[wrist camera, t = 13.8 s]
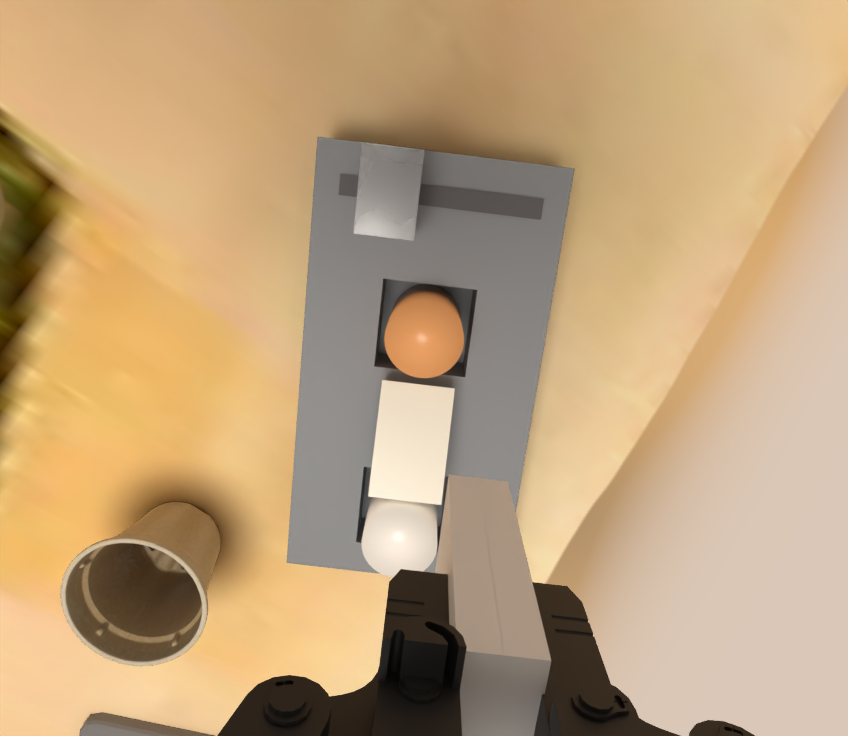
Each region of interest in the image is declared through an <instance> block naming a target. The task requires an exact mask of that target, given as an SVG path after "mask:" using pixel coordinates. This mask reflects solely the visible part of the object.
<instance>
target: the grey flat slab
mask: <svg viewBox="0 0 848 736" xmlns="http://www.w3.org/2000/svg"><path fill="white" fill-rule="evenodd" d="M79 736H213V735H209V734H204V733H199V732H194V731H189V730H184V729H180V728H175V727H170V726H165V725H160V724H156V723H151V722H146V721H141V720H136V719H131V718H127V717H122V716H117V715H112V714H107V713H96V714H91V715H90V716H89V718H88V719H87V720H86V722H85V723H84V725H83V726H82V728H81V729H80V735H79Z"/></svg>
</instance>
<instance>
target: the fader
mask: <svg viewBox="0 0 848 736" xmlns="http://www.w3.org/2000/svg"><path fill="white" fill-rule="evenodd" d="M424 152H425V150H424V149H416V148H408V147H400V146H391V145H383V144H375V143H367V142H362V145H361V156H360V168H359V179H358V190H357V201H356V212H355V223H354V234H362V235H371V236H379V237H387V238H395V239H403V240H411V241H414V240H415V231H416V222H417V213H418V204H419V196H420V187H421V178H422V169H423V161H424Z"/></svg>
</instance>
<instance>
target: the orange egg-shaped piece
mask: <svg viewBox="0 0 848 736" xmlns="http://www.w3.org/2000/svg"><path fill="white" fill-rule="evenodd" d="M384 342H385V348H386V352H387V354H388V356H389V358H390V360H391V361H392V363H393V364H394V365H395V366H396V367H397V368H398V369H399V370H401V371H402V372H404V373H405V374H408V375H410V376H413V377H417V378H432V377H436V376H439V375H441V374H443V373H445V372H447V371H448V370H449V369H451V368H452V367H453V366H454V365H455V363H456V362H457V361H458V359H459V357H460V355H461V353H462V350H463V346H464V333H463V328H462V323H461V317H460V312H459V308H458V306H457V304H456V302H455V300H454V299H453V298H452V297H451V295H450V294H448V293H447V292H446V291H444V290H443V289H441V288H439V287H436V286H431V285H420V286H416V287H413V288H410V289H408V290H407V291H405V292H404V293H403V294H402V295H401V296H400V297H399V298H398V299H397V301H396V302H395V304H394V306H393V309H392V312H391V315H390V318H389V321H388V324H387V327H386V330H385V337H384Z"/></svg>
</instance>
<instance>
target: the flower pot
mask: <svg viewBox="0 0 848 736" xmlns="http://www.w3.org/2000/svg"><path fill="white" fill-rule="evenodd" d="M220 546H221V540H220V533H219V530H218V528H217V526H216V524H215V522H214V521H213V519H212V518H211V517H210V516H209V515H208V514H206V513H204V512H202V511H200V510H199V509H197V508H196V507H194V506H193V505H192V504H188V503H183V502H169V503H165V504H162V505H159V506H157V507H155V508H153V509H152V510H151V511H149V512H148V513H147V514H146V515H145V516H144V517H142V518H141V519H140V520H138V521H137V522H136V523H134V524H133V525H132V526H130V527H129V528H128V529H126V530H125V531H123V532H122V533H121V534H119V535H118V536H116V537H113V538H110V539H106V540H102V541H100V542H97V543H95V544H93V545H91V546H89V547H88V548H86V549H85V550H83V551H82V552H81V553H80V554H78V555H77V556H76V558H75V559H74V560H73V561H72V562H71V563H70V565H69V567H68V568H67V570H66V572H65V574H64V577H63V580H62V585H61V594H60V595H61V605H62V608H63V612H64V615H65V617H66V619H67V622H68V624H69V625H70V627H71V629H72V630H73V632H74V633H75V634H76V636H77V637H78V638H79V639H80V640H81V641H82V642H83V643H84V644H85V645H86V646H88V647H89V648H90V649H92V650H93V651H94V652H95V653H97V654H99V655H101V656H103V657H105V658H107V659H109V660H112V661H115V662H117V663H120V664H126V665H132V666H151V665H152V666H153V665H157V664H161V663H165V662H168V661H171V660H173V659H175V658H177V657H179V656H181V655H182V654H184V653H185V652H186V651H188V650H189V649H190V648H191V647H192V646H193V645H194V644H195V643H196V641H197V640H198V639H199V637H200V636H201V634H202V632H203V629H204V627H205V624H206V620H207V615H208V600H207V589H208V585H209V582H210V579H211V576H212V572H213V569H214V566H215V563H216V560H217V557H218V555H219V551H220ZM151 547H152V548H154V550H152V549H151ZM182 566H183V567H184V568H185V569H183V568H182Z"/></svg>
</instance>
